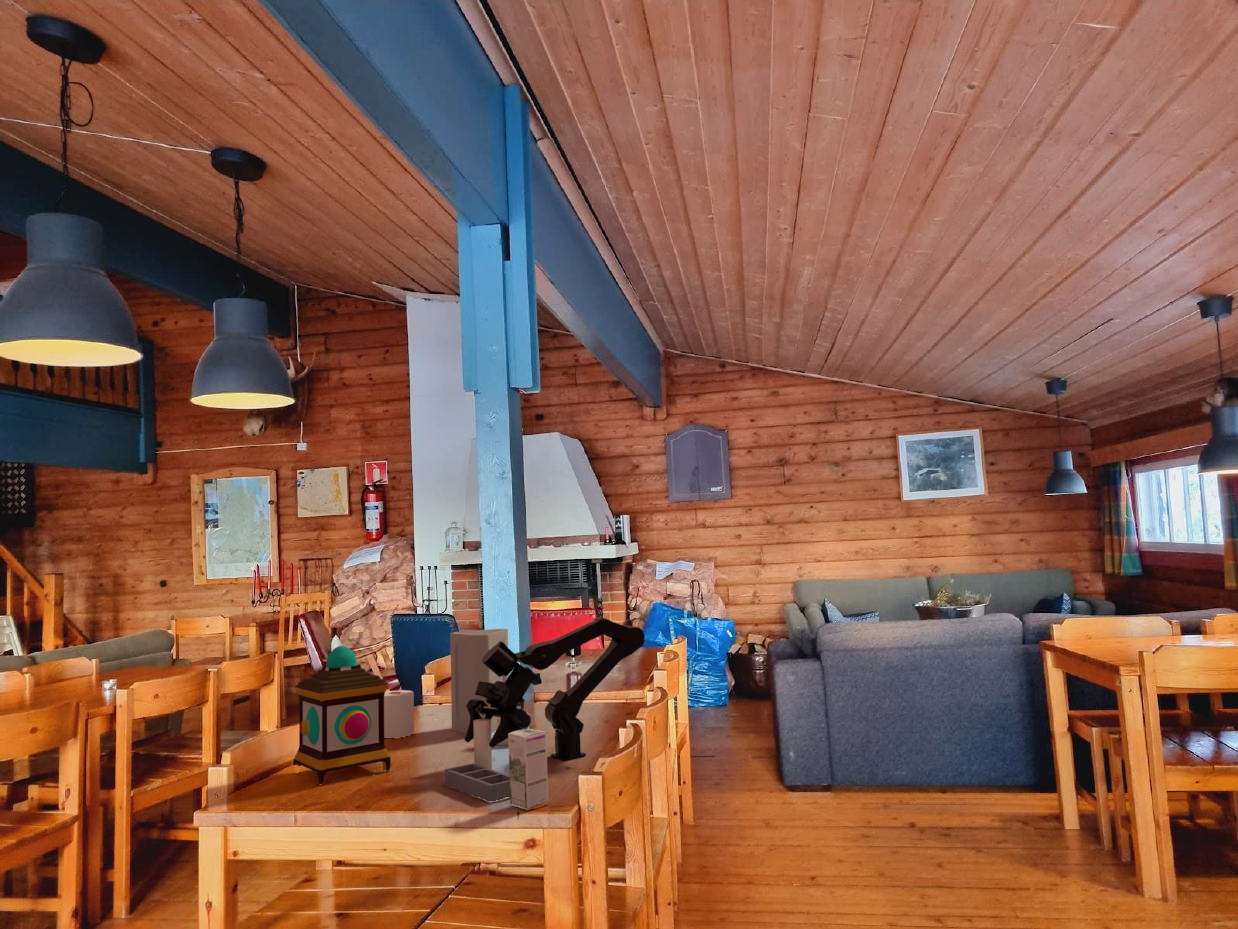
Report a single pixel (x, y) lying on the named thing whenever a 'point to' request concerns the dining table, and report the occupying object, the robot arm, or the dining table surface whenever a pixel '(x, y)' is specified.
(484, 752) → the beige tapered cylinder
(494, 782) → the caddy
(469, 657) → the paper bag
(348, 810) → the dining table surface
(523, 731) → the syrup box
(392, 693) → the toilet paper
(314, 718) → the decorative lantern
